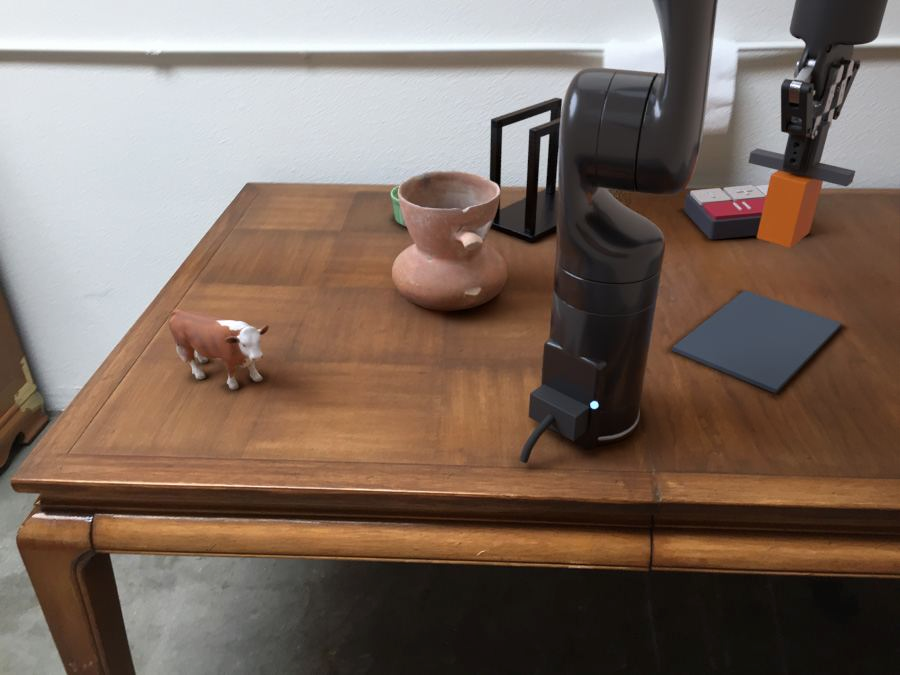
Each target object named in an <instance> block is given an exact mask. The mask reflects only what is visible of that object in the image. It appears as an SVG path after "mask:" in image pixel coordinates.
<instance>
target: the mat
mask: <svg viewBox="0 0 900 675" xmlns="http://www.w3.org/2000/svg"><path fill="white" fill-rule="evenodd" d="M842 324H843V323H842V322H840V321H837V320H834V319H831V318H828V317H825V316H822V315H819V314H816V313H815V312H811V311H807V310H804V309H802V308H799V307H796V306H793V305H790V304H787V303H784V302H781V301H779V300H775V299H772V298H770V297H767V296H764V295H762V294H761V295H760V294H759V293H755V292H752V291H750V290H746V289H745V290H743V291H742V292H740V293H739V294H738V295H737V296H735V297H734V298H732V299H731V300H730V301H729V302H728V303H727V304H725V305H724V306H722V308H720V309H719V310H718V311H716V312H715V313H714V314H713V315H711V316H710V317H709V318H707V319H706V320H705V321H704V322H702V323H701V324H700V325H699V326H697V327H696V328H694V329H693V330H692V331H691V332H689V334H687V335H686V336H684V337H683V338H682V339H681V340H679V341H678V342H677V343H676V344H674V345H673V346H672V350H671V351H672V352H674V353H677V354H679V355H681V356H684V357H686V358H689V359H691V360H693V361H696V362H698V363H700V364H703V365H706V366H707V367H710V368H713V369H715V370H717V371H719V372H721V373H724V374H727V375H729V376H732V377H734V378H737V379H739V380H741V381H744V382H747V383H749V384H751V385H754V386H755V387H759V388H761V389H763V390H766V391H768V392H770V393H772V394H776V395H777V393H778V392H779V391H780V390H782V388H784V386H785V385H786V384H787V383H788V382H789V381H790V380H791V379H792V378H793V377H794V376H795V375H796V374H797V373H798V372H799V371H800V370H801V369H802V368H803V367H804V366H805V365H806V363H807V362H808V361H809V360H811V359H812V358H813V356H815V354H817V352H818V351H819V350H820V349H821V348H822V347H823V346H824V345H825V344H826V343H827V342H828V341H829V340H830V339H831V338H832V337H833V336H834V335H835V334H836V333H837V332H838V331H839V330H840V329H841V328H842Z"/></svg>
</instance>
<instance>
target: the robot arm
mask: <svg viewBox="0 0 900 675" xmlns="http://www.w3.org/2000/svg"><path fill="white" fill-rule="evenodd" d="M651 1H652V3H653V6H654V7H653V8H654V10H655V14H656V16H657V20H658V24H659V28H660V29H659V30H660V36H661V42H662V52H663V67H664V68H663V70H664V71H663V72H655V71H643V70H633V69H632V70H630V69H621V68H611V67H610V68H609V67H608V68H607V67H586V68H582V69H580V70H579V71H578V72H577V73H576V74H575V75H574V76H573V77H572V79H571V81H570V83H569V85H568V86H567V89H566V92H565V94H564V97H563V100H562V107H561V119H560V127H559V149H558V164H557V176H558V177H557V178H558V183H557V184H558V185H557V186H558V187H557V191H558V208H557V226H556V231H555V233H556V245H555V246H556V247H555V259H554V273H553V287H552V298H551V311H550V324H549V338H548V339H547V340H546V341H545V342H544V344H543V355H542V366H541V384H540V385H539V387H537V388H536V389H534V390H533V391H531V392H530V393H529V400H528V404H529V405H528V418H529V419H531V420H533V421H535V422H537V423H539V424H538V425H537V426H536V427H535V429H534V430H533V431H532V433H531V434H530V435H529V437H528V438H527V440H526V442H525V444H524V446H523V448H522V451H521V454H520V456H519V459H518V460H519V461H520V462H521V463H524V464H528V462H529V459H530V457H531V454H532V451H533V449H534V447H535V445H536V444H537V442H538V441H539V439H540V438H541V437H542V435H543V434H544V433H545V432H546V431H547V430H548V429H550V430H551V431H553V432H555V433H557V434H558V435H560V436H562V437H564V438H566V439H568V440H570V441H572V442H574V443H576V444H578V445H579V446H581V447H583V448H585V449H587V450H592V449H594V448H595V447H596V446H599V445H608V444H614V443H617V442H620V441H623V440H625V439H627V438H628V437H630V436H631V435H632V434H634V432H635V431H636V430H637V428H638V426H639V422H640V416H641V410H640V409H641V402H642V396H643V389H644V383H645V377H646V370H647V364H648V358H649V350H650V346H651V338H652V332H653V326H654V320H655V313H656V306H657V302H658V294H659V288H660V284H661V275H662V271H663V263H664V256H665V250H666V240H665V236H664V233H663V231H662V230H661V229H660V227H659V226H658V225H657V224H655V223H654V222H653V221H652V220H650V219H648V218H647V217H645V216H643V215H641V214H640V213H638V212H636V211H634V210H633V209H632V208H629V207H628V206H626V205H625V204H623V203H622V202H620V201H619V200H618V199H617V198H616V197H615V196H614V195H613V194H612V193H611V191H609V190H614V191H623V192H628V193H639V194H643V195H652V196H665V197H667V196H668V197H669V196H675V195H678V194H680V193H682V192H683V191H684V190H686V188H687V186H689V184H690V182H691V180H692V178H693V175H694V173H695V170H696V168H697V164H698V160H699V156H700V152H701V147H702V143H703V142H702V141H703V135H704V128H705V127H704V126H705V122H706V121H705V120H706V114H707V113H706V112H707V106H708V104H707V103H708V93H709V86H710V85H709V84H710V78H711V77H710V75H711V67H712V66H711V65H712V56H713V47H714V41H715V40H714V38H715V30H716V21H717V13H718V3H719V0H651ZM888 2H889V0H795V2H794V7H793V11H792V15H791V19H790V25H789V33H790V35H791V36H792V37H793V38H795V39H797V40H802V41H803V42H804V48H803V51H802V54H801V57H800V58H799V59H798V60H797V62H796V64H795V68H794V71H793V77H794V79H790V78H789V79H788V78H784V80H783V81H782V83H781V86H780V131H781V133H785V134H788V135H789V134H790V138H789V142H788V146H787V150H786V155H785V159H784V163H783V170H784V171H785V172H788V173H792V174H797V175H802V174H804V173H805V172H806V171H807V169H808V165H809V161H810V157H811V153H812V149H813V145H814V141H815V136H816V135H817V133H818V127H819V124H820V120H821V121H826V122H830V126H829V129H830V128H831V127H832V124H833V120H834V121H837V120H838V119H839V117H840V115H841V112H842V109H843V107H844V105H845V102H846V100H847V98H848V95H849V92H850V91H851V88H852V87H853V86H852V85H853V83H854V81H855V78H856V76H857V73H858V71H859V70H860V68H861V59H855V58H853V55H854V51H855V46H860V45H861V46H862V45H866V44H870V43H872V42H874V41H875V40H876V39H877V38H878V37H879V34H880V30H881V26H882V24H883V19H884V16H885V13H886V9H887V5H888ZM799 119H801V120H802V122H800V121H799Z"/></svg>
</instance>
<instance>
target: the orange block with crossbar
mask: <svg viewBox="0 0 900 675" xmlns="http://www.w3.org/2000/svg"><path fill="white" fill-rule="evenodd" d="M799 121H800V122H802V120H801V119H799ZM829 126H830V122H826V121H821V120H820V124H819V127H818V133H817V135H816V136H815V141H814V145H813V149H812V153H811V157H810V161H809V165H808V169H807V171H806V172H805V173H804V174H802V175H797V174H792V173H788V172H785V171H784V170H783V163H784V159H785V155H786V150H787V146H788V142H789V138H790V134H788V136H787V141H786V145H785V149H784V153H780V152H775V151H771V150H766V149H762V148H758V147H757V148H755V149H754V150H751V151H750V152H749V157H748V162H747V163H748V164H752V165H756V166H760V167H763V168H767V169H772V170H775V172H773V173H771V174H770V178H769V181H768V185H769V186H768V190H767V195H766V199H765V203H764V208H763V212H762V217H761V221H760V226H759V230H758V234H757V236H756V239H759V240H762V241H766V242H768V243H771V244H775V245H778V246H782V247H785V248H789V249H791V248H792V247H793V246H795V245H797V243H798V242H800V241H801V240H802V239H804V238H805V237H806V236H808V233H809V234H810V232H811V228H812V224H813V220H814V216H815V213H816V209H817V205H818V202H819V198H820V195H821V194H820V193H821V190H822V186H823V183H824V182H825V183H830V184H834V185H837V186H842V187H846V188H847V187H848V186H850V185H851V184H852V183H853V181H854V178H855V174H856V170H853V169H850V168H845V167H841V166H837V165H832V164H828V163H823V162H821V161H822V156H823V152H824V149H825V145H826V141H827V137H828V134H829V130H830V128H829Z"/></svg>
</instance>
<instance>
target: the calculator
mask: <svg viewBox="0 0 900 675" xmlns="http://www.w3.org/2000/svg"><path fill="white" fill-rule="evenodd" d="M768 186H769V184H759V185H756V186H755V185H754V184H749V185H736V186H727V187H726V186H725V187H723V189H721V188H720V187H716V188H707V189H706V188H704V189H694V190H690V192H688V193H686V194H685V200H684V203H685V204H684V208H683V209H684V213H685V214H686V215H687V216H688V218H690V220H692V222H693V223H694V224H695V225H696V226H697V227H698V228H699V229H700V230H701V231H702V233H703V234H704V235H705V236H706V238H708V239H709V240H712V241H713V240H724V239H725V240H727V239H736V238H745V237H746V238H747V237H757V234H758V230H759V226H760V221H761V217H762V212H763V208H764V203H765V199H766V195H767V190H768ZM808 234H810V232H809V233H808ZM808 234H807V235H808Z"/></svg>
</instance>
